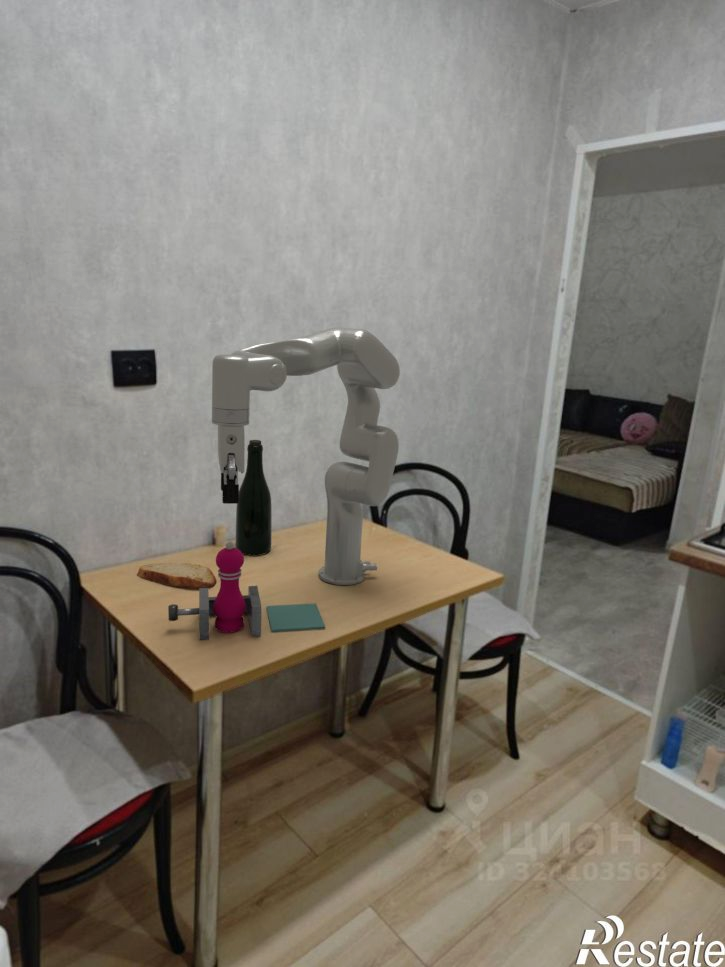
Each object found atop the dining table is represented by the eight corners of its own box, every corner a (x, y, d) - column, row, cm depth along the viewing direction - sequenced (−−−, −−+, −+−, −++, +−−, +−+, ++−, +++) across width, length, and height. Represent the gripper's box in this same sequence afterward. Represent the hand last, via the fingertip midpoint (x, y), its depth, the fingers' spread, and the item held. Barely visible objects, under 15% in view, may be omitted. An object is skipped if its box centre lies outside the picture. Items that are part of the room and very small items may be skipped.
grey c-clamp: (256, 610, 152) (256, 583, 150) (260, 636, 140) (261, 606, 138) (170, 615, 147) (169, 586, 145) (167, 641, 135) (167, 611, 134)
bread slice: (134, 572, 170) (134, 558, 169) (202, 563, 179) (202, 550, 178) (147, 599, 155) (146, 585, 154) (220, 588, 164) (220, 575, 163)
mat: (315, 605, 156) (316, 603, 156) (325, 628, 145) (325, 626, 145) (266, 608, 153) (266, 605, 153) (271, 632, 142) (271, 629, 142)
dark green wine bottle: (245, 558, 183) (246, 445, 175) (229, 547, 191) (230, 438, 183) (277, 552, 189) (280, 442, 181) (261, 541, 197) (263, 435, 189)
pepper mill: (212, 634, 140) (212, 548, 135) (213, 619, 146) (213, 536, 141) (246, 633, 141) (247, 547, 136) (245, 618, 148) (246, 536, 143)
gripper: (252, 423, 125) (250, 508, 129) (246, 410, 141) (244, 486, 145) (212, 422, 123) (211, 508, 127) (211, 409, 139) (210, 486, 143)
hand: (229, 496), depth 136 cm, fingers open, 9 cm apart
